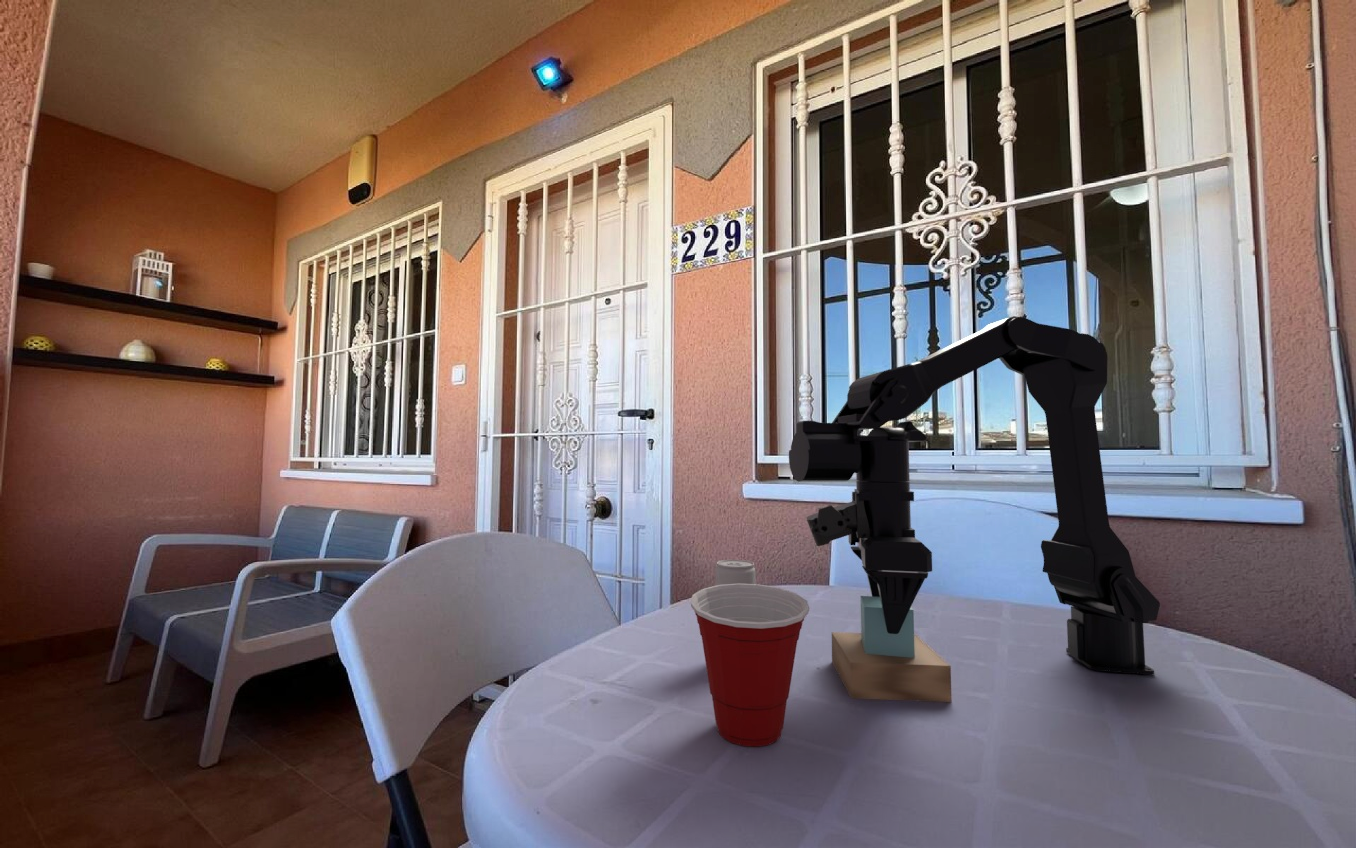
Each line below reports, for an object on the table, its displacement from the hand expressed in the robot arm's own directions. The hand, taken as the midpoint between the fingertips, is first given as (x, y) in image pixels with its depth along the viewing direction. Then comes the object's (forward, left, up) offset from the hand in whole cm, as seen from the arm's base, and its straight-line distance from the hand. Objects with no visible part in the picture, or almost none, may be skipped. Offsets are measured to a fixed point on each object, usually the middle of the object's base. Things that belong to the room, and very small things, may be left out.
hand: (885, 620), depth 61 cm
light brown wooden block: (0, 0, -7) cm, 7 cm away
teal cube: (0, 0, -3) cm, 3 cm away
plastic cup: (+14, +15, -7) cm, 22 cm away
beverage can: (+17, -1, -7) cm, 18 cm away
